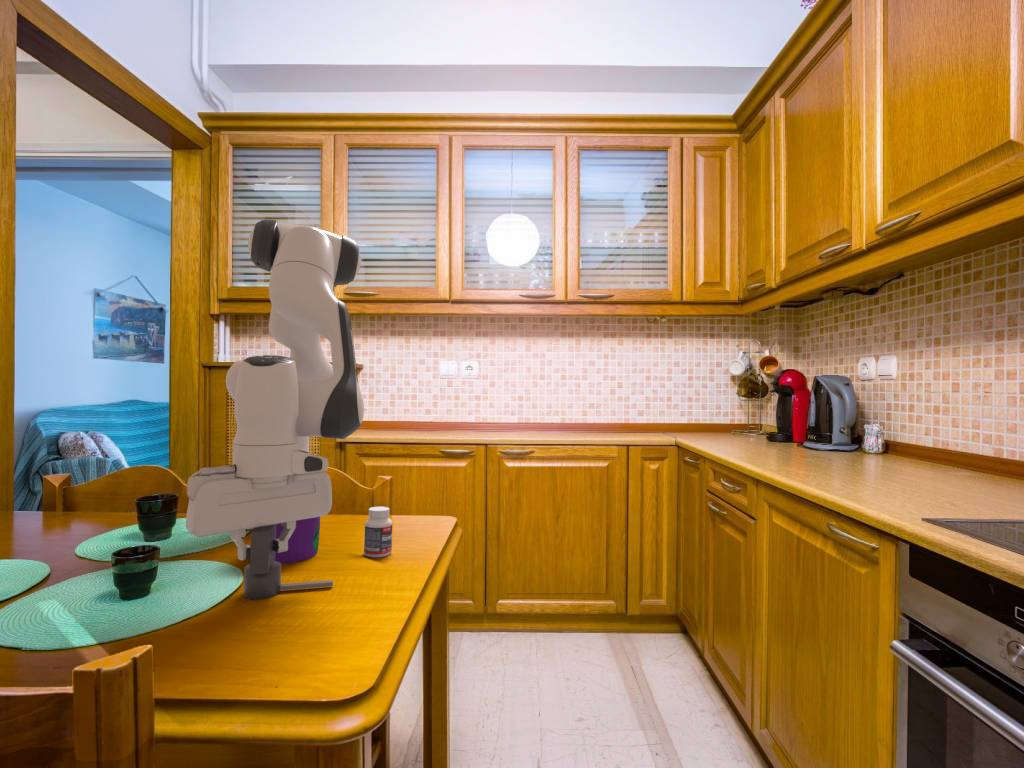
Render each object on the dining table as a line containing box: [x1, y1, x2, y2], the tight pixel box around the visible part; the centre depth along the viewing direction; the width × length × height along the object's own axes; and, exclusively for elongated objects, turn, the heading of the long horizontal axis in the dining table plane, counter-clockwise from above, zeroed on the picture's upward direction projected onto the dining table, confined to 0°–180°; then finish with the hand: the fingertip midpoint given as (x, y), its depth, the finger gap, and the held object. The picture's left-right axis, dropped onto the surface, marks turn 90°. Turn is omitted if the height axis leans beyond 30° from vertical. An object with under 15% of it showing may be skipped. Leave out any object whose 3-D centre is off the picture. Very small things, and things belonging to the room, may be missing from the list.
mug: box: [252, 516, 321, 565], centre depth 99 cm, size 17×11×10 cm, turn 13°
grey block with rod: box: [243, 524, 334, 600], centre depth 80 cm, size 12×7×10 cm, turn 106°
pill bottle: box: [363, 506, 393, 559], centre depth 103 cm, size 5×5×9 cm
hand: (263, 554), depth 78 cm, fingers closed on grey block with rod, 4 cm apart
